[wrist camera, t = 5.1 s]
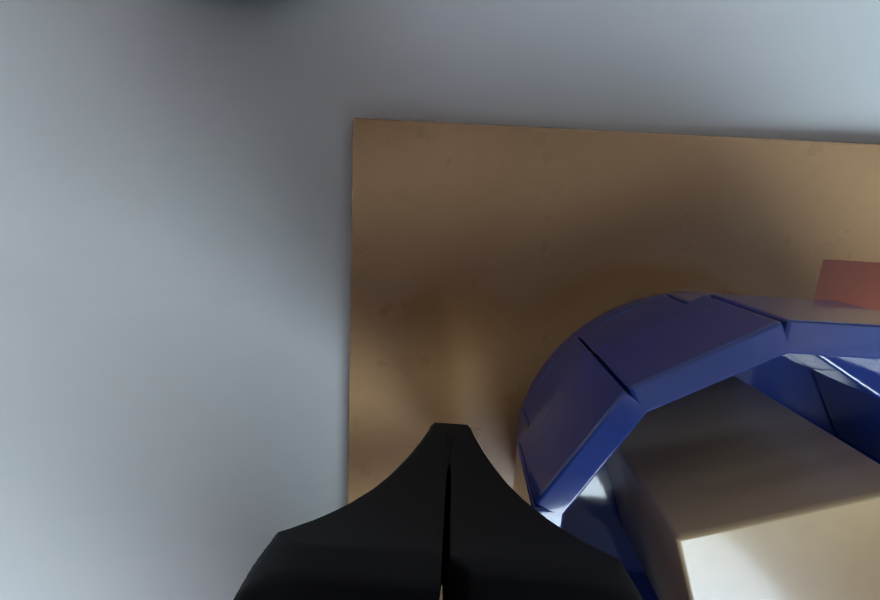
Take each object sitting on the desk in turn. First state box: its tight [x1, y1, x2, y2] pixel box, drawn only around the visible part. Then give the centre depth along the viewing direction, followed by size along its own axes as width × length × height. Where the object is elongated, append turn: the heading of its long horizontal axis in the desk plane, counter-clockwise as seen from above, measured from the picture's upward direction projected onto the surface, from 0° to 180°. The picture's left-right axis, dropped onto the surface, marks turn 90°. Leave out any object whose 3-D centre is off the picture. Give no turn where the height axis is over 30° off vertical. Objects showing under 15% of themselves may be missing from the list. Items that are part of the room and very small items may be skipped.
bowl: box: [513, 292, 880, 600], centre depth 11 cm, size 10×10×5 cm
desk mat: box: [348, 118, 880, 600], centre depth 14 cm, size 20×25×1 cm
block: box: [606, 377, 880, 600], centre depth 10 cm, size 4×4×5 cm
